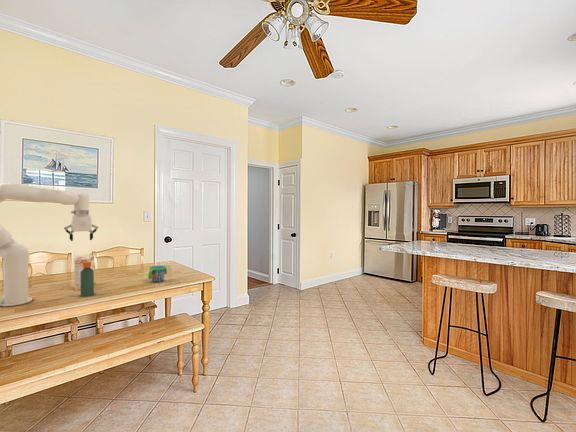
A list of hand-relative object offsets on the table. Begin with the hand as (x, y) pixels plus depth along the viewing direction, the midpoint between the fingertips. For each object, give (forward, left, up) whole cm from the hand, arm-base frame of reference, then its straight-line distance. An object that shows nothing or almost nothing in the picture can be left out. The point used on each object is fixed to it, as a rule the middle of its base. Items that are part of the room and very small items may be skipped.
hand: (81, 240), depth 175 cm
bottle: (-2, -15, -31) cm, 35 cm away
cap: (-2, -15, -15) cm, 21 cm away
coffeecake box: (+4, +6, -31) cm, 32 cm away
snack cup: (+40, -18, -31) cm, 54 cm away
